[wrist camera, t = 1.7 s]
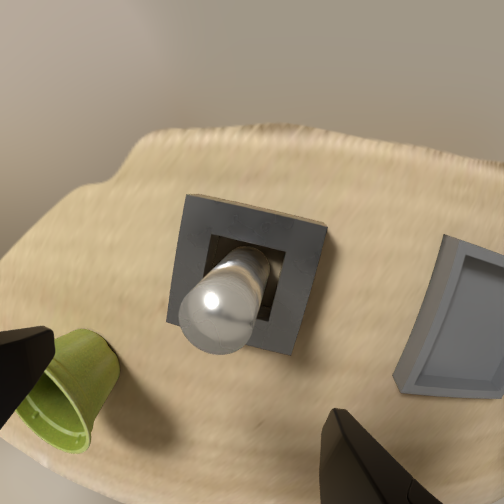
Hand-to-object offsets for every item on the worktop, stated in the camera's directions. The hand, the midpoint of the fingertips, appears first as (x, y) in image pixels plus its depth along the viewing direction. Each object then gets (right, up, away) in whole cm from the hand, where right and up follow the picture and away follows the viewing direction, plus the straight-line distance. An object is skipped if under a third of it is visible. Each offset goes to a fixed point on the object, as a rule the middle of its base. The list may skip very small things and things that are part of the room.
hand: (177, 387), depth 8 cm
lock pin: (+2, +3, +13) cm, 14 cm away
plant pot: (-12, -6, +17) cm, 22 cm away
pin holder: (+2, +3, +13) cm, 14 cm away
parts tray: (+20, -2, +12) cm, 23 cm away
